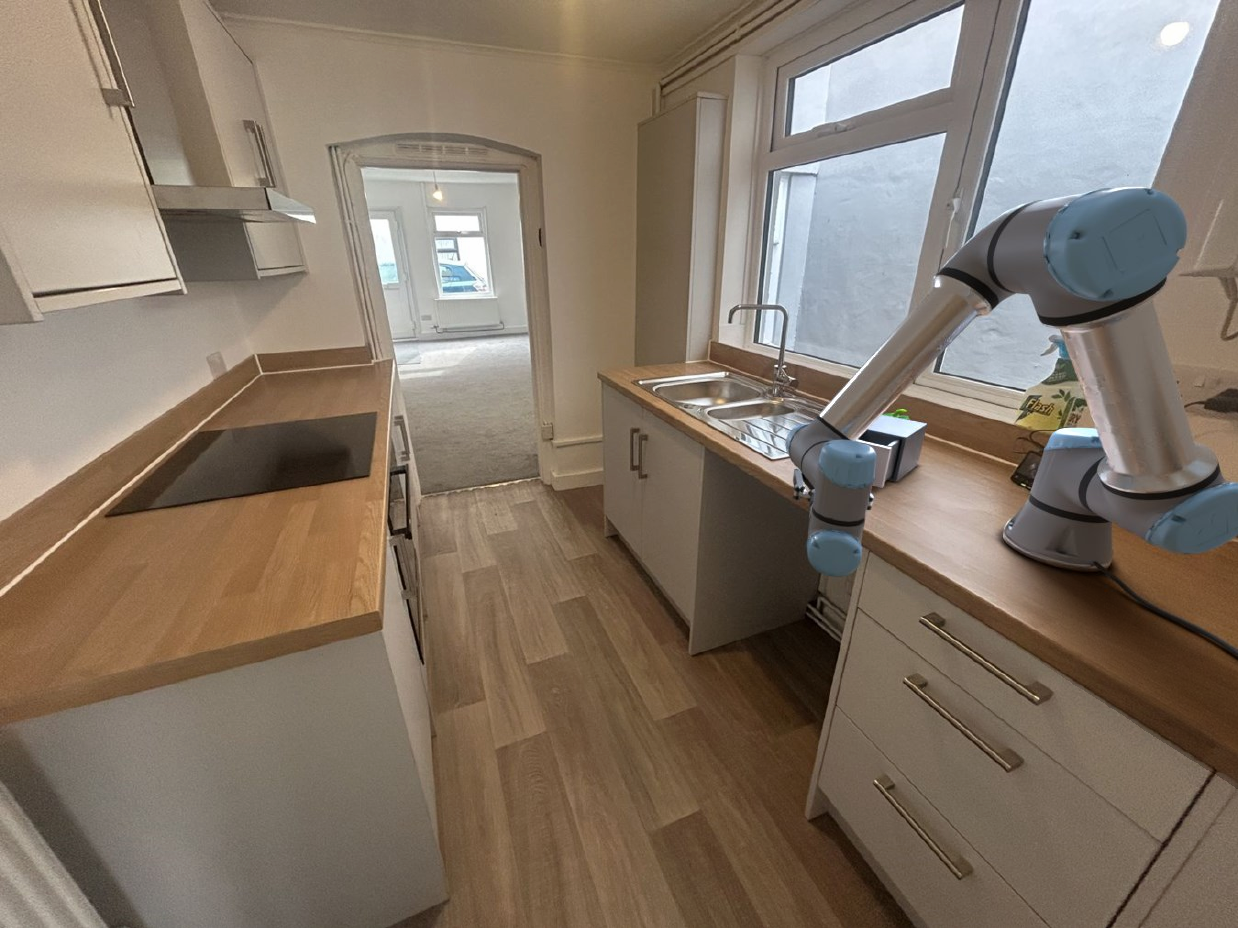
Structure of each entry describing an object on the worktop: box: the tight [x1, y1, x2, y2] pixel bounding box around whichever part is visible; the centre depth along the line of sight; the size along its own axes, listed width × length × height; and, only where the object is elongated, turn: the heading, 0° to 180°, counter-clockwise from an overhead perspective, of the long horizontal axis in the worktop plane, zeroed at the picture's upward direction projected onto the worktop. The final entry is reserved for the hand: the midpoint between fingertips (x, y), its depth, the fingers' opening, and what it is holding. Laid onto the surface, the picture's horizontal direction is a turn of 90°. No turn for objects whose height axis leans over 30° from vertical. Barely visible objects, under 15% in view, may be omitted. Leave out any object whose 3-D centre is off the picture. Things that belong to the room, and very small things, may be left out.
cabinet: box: [865, 415, 928, 483], centre depth 125 cm, size 16×14×12 cm
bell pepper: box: [882, 408, 910, 420], centre depth 144 cm, size 8×8×10 cm
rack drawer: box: [856, 432, 902, 489], centre depth 118 cm, size 19×12×10 cm, turn 133°
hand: (831, 465), depth 103 cm, fingers closed on soda can, 7 cm apart
